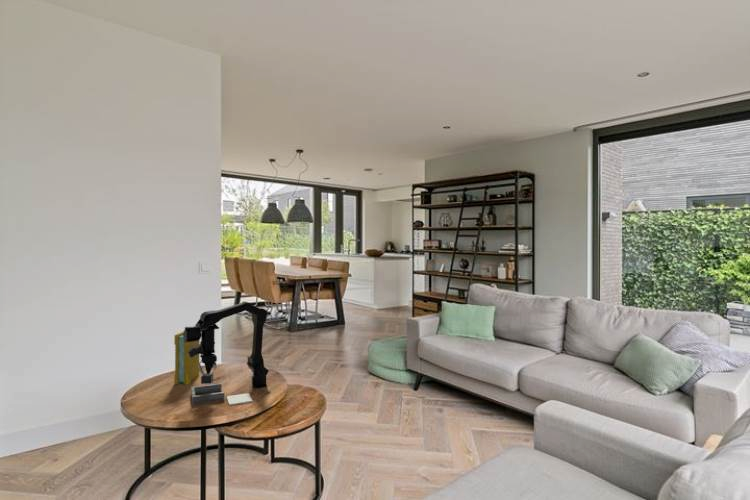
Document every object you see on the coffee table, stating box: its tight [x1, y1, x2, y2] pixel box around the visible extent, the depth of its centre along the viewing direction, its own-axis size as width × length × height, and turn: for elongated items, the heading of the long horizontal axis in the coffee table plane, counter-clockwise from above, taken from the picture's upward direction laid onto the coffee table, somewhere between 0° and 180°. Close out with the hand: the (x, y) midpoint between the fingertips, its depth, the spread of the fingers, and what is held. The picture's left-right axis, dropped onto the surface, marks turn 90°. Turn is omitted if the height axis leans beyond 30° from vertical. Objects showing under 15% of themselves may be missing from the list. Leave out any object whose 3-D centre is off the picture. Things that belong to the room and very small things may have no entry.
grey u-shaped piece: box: [190, 382, 225, 406], centre depth 191 cm, size 13×13×4 cm
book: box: [173, 330, 201, 385], centre depth 215 cm, size 17×7×25 cm, turn 179°
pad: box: [226, 392, 253, 406], centre depth 188 cm, size 10×10×1 cm
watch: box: [198, 360, 218, 385], centre depth 191 cm, size 6×8×11 cm
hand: (207, 372), depth 190 cm, fingers closed on watch, 5 cm apart
